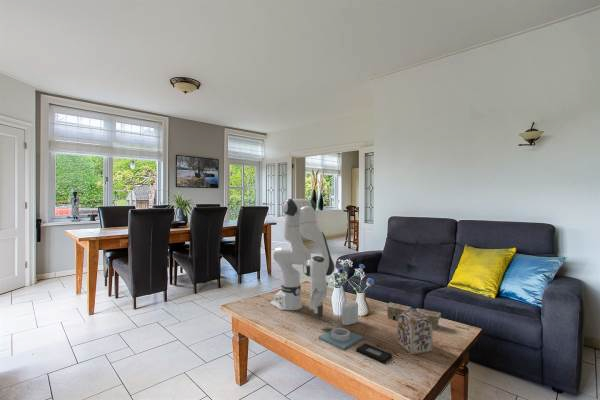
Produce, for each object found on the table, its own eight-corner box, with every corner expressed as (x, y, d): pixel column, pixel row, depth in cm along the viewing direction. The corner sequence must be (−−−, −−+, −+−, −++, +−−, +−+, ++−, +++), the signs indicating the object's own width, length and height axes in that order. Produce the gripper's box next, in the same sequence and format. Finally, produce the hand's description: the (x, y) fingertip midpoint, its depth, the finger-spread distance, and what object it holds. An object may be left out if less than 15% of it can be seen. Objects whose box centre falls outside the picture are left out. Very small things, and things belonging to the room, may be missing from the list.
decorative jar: (411, 355, 137) (411, 316, 137) (396, 343, 148) (396, 307, 148) (433, 351, 140) (433, 313, 140) (416, 340, 151) (417, 304, 151)
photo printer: (353, 319, 176) (354, 298, 176) (359, 322, 172) (359, 301, 172) (340, 323, 170) (340, 302, 170) (345, 326, 167) (346, 304, 167)
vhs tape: (365, 347, 145) (365, 343, 145) (392, 358, 135) (392, 354, 135) (356, 352, 140) (356, 348, 140) (383, 365, 130) (383, 360, 130)
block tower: (385, 319, 179) (438, 331, 162) (385, 305, 179) (437, 316, 162) (390, 315, 185) (441, 326, 168) (389, 302, 185) (440, 311, 168)
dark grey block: (313, 313, 169) (313, 302, 169) (322, 313, 169) (322, 302, 169) (314, 317, 164) (314, 306, 164) (323, 317, 164) (323, 306, 164)
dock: (318, 338, 152) (318, 331, 152) (338, 328, 164) (338, 322, 164) (343, 349, 141) (343, 342, 141) (362, 338, 152) (362, 332, 152)
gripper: (317, 293, 155) (317, 319, 155) (328, 281, 174) (328, 305, 174) (306, 291, 157) (306, 317, 158) (318, 280, 176) (318, 303, 177)
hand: (318, 310), depth 166 cm, fingers closed on dark grey block, 5 cm apart
